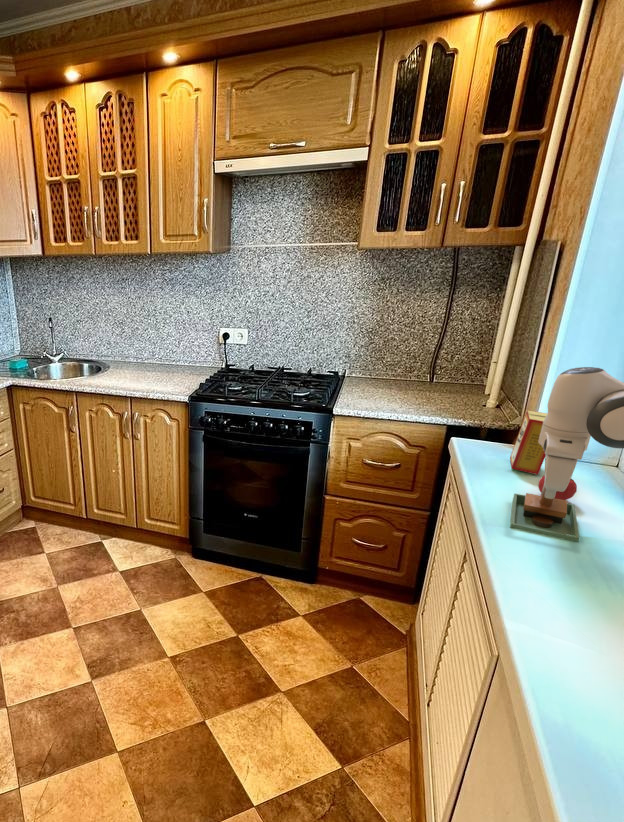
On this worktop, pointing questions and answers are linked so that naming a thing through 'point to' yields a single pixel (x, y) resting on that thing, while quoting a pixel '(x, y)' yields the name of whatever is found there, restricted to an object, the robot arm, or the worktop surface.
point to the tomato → (565, 494)
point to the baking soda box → (529, 444)
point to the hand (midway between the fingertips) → (548, 493)
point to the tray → (556, 530)
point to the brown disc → (542, 521)
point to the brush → (545, 507)
